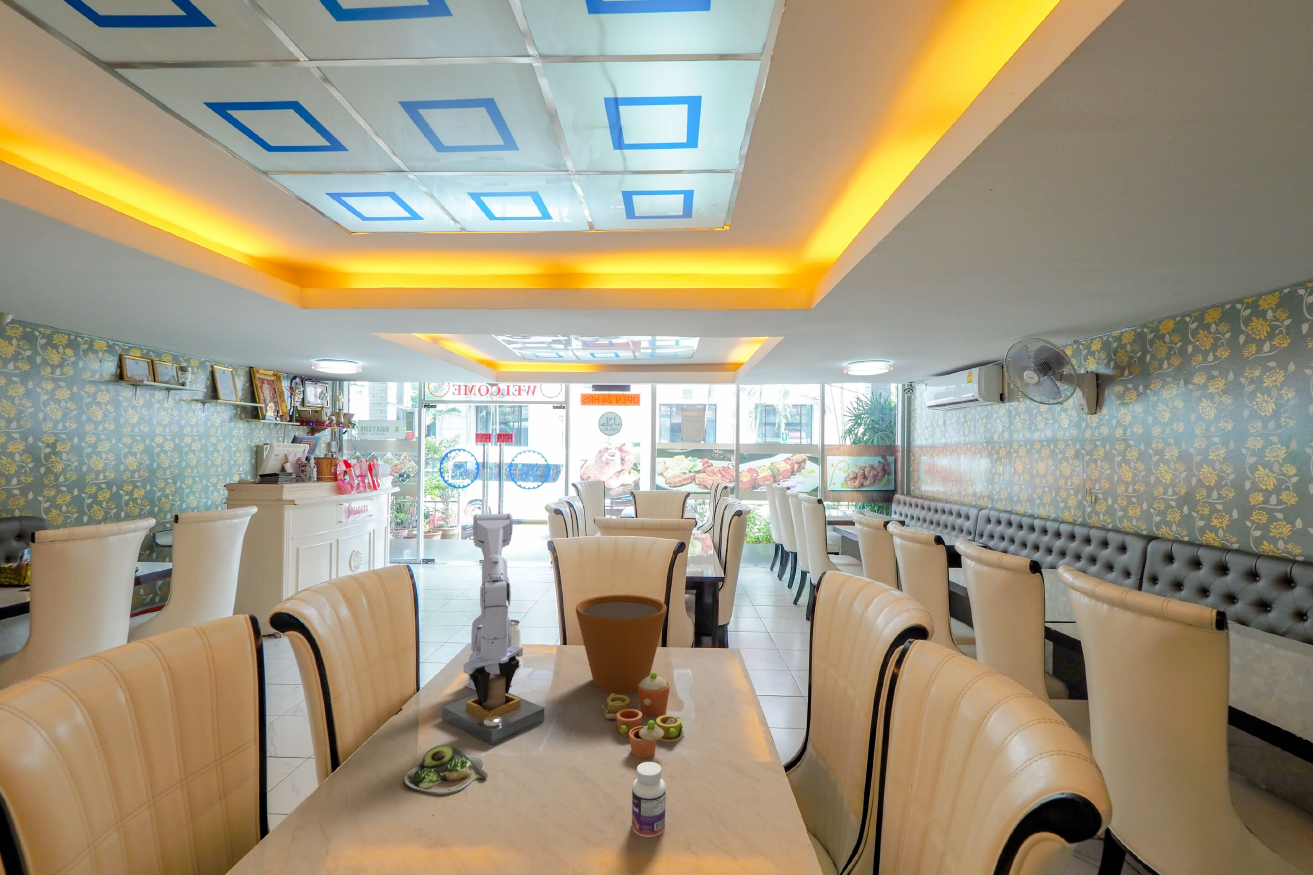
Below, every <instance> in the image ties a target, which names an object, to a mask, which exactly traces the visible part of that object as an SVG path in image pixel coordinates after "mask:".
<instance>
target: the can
mask: <svg viewBox="0 0 1313 875" xmlns="http://www.w3.org/2000/svg"><path fill="white" fill-rule="evenodd" d="M510 621H511V647H515V646H519V647H522V627H521V624H520V620H519V619H510ZM511 647H510V648H511ZM516 659H518V660H519V666H521V661H522V656H520V657H518V656H517V657H516Z"/></svg>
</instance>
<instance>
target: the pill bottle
mask: <svg viewBox="0 0 1313 875" xmlns="http://www.w3.org/2000/svg"><path fill="white" fill-rule="evenodd" d="M631 794H632V795H631V797H632V798H631V828H632V831H633V832H634V833H635V834H637V835H638V836H640V837H645V838H651V837H657V836H660V835H661V834H662V833H663V832H664V831H665V829H666V783H665V780H663V778H662V766H661V765H660V764H659V763H657V762H654V761H644V762H641V763H640V764H638V765H637V767H636V779H634V781H633V783H632V790H631Z"/></svg>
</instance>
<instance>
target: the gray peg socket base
mask: <svg viewBox="0 0 1313 875" xmlns="http://www.w3.org/2000/svg"><path fill="white" fill-rule="evenodd" d="M441 713H442V718H441V720H442V722H445V723H447V724H448V725H450V726H453V727H454V728H455V729H458V730H460V731H463V733H466V734H468V735H469V736H472V737H474V738H476V739H477V740H480V741H481V742H484V743H486V744H487V743H488V745H489V746H491V745H492V747H493V746H495V745H497V744H499V743H501V742H503V741H505V740H508V739H509V738H511V737H513V736H516V735H518V734H520V733H522V732H524V731H526V730H528V729H531V728H532V727H534V726H537V725H539V724H542V723H543V722H545V707H543V706H541V705H539V704H536V703H534V702H531V701H529V700H527V699H525V698H522V697H519V696H517V695H515V694H512V693H511V692H509V693H507V694H506V693H505V705H502V706H500V707H497V708H495V709H493V710H488V709H486V708H483V707H482V702H481V701H478V696H477V693H475V694H473V695H472V694H471V695H470V696H467V697H464V698H462V699H460V700H457V701H454V702H451V703H449V704H447V705H444V706H442V712H441Z"/></svg>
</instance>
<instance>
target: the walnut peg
mask: <svg viewBox="0 0 1313 875" xmlns="http://www.w3.org/2000/svg"><path fill="white" fill-rule="evenodd" d="M505 686H506V676H505V675H503V674H491V675H490V678H489V682H488V688H487V701H486V702H484V703H483V702H482V707H483V708H486V709H488V710H493V709H495V708H497V707H500V706H502V705H505Z"/></svg>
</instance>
